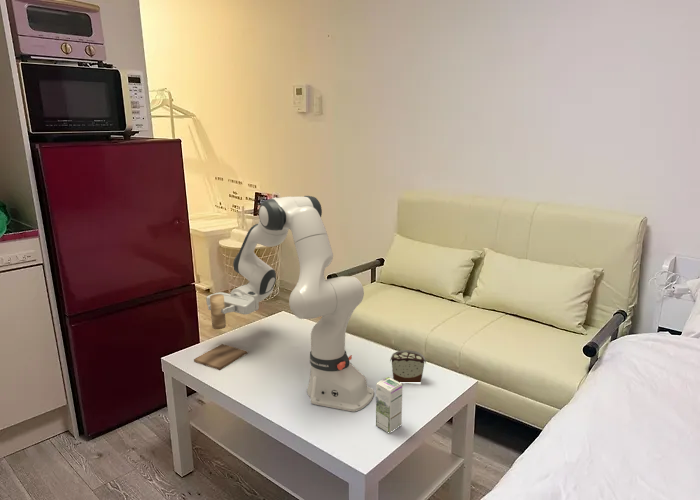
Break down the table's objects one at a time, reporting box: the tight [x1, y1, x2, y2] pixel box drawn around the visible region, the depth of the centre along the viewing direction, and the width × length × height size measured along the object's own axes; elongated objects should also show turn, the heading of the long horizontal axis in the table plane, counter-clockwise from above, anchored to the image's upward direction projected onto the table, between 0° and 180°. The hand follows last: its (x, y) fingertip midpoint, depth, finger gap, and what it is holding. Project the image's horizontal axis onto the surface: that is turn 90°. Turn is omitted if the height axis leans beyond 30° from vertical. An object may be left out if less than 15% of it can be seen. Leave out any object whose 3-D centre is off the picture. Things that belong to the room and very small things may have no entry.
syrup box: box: [375, 376, 403, 434], centre depth 149 cm, size 6×6×14 cm
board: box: [193, 343, 248, 371], centre depth 192 cm, size 13×15×1 cm
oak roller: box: [210, 294, 227, 330], centre depth 188 cm, size 5×5×12 cm
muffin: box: [389, 349, 427, 383], centre depth 176 cm, size 12×6×10 cm, turn 84°
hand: (216, 309), depth 186 cm, fingers closed on oak roller, 5 cm apart
